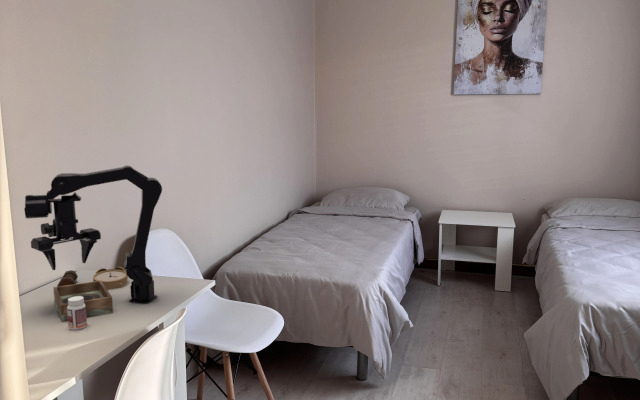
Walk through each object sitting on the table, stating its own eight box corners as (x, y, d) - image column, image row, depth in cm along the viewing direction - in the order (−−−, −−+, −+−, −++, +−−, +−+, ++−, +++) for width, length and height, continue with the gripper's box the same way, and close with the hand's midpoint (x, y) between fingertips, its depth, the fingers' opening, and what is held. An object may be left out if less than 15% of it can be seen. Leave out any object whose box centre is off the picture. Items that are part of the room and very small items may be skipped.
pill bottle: (88, 323, 152) (87, 295, 151) (84, 329, 148) (82, 301, 146) (71, 323, 152) (69, 295, 150) (66, 330, 147) (64, 301, 146)
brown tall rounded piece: (74, 284, 192) (69, 296, 178) (60, 278, 190) (54, 290, 176) (82, 269, 192) (78, 281, 178) (68, 263, 190) (63, 274, 176)
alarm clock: (92, 283, 178) (93, 263, 191) (93, 296, 180) (94, 276, 193) (127, 280, 182) (126, 261, 195) (128, 293, 183) (127, 273, 197)
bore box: (101, 294, 175) (100, 280, 174) (112, 312, 160) (112, 296, 159) (54, 302, 168) (53, 287, 167) (61, 322, 153) (60, 305, 152)
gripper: (82, 208, 171) (85, 255, 174) (20, 217, 157) (25, 268, 160) (100, 212, 164) (103, 261, 167) (37, 222, 150) (42, 275, 153)
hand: (69, 266), depth 162 cm, fingers open, 9 cm apart
